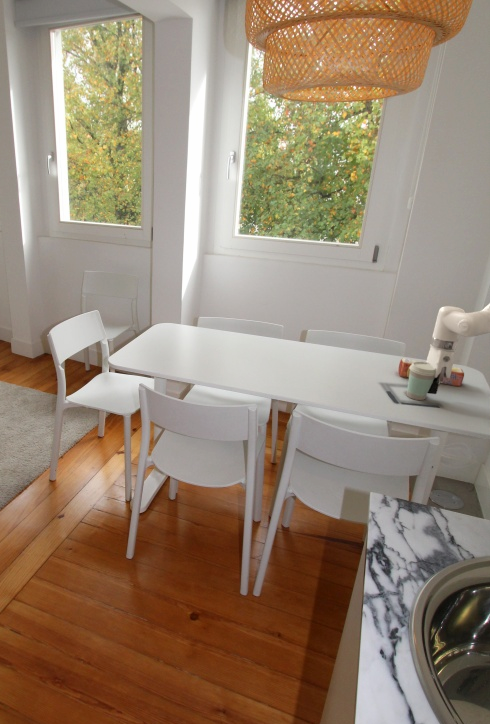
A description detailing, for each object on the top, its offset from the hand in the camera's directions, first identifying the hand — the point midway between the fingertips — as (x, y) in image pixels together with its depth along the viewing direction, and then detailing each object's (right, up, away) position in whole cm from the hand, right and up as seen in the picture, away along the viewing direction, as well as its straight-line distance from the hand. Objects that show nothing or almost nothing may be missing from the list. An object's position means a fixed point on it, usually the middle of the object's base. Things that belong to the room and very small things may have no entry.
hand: (430, 392), depth 165 cm
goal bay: (-7, -1, +1) cm, 7 cm away
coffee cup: (-5, -2, +1) cm, 5 cm away
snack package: (+8, +4, +15) cm, 18 cm away
